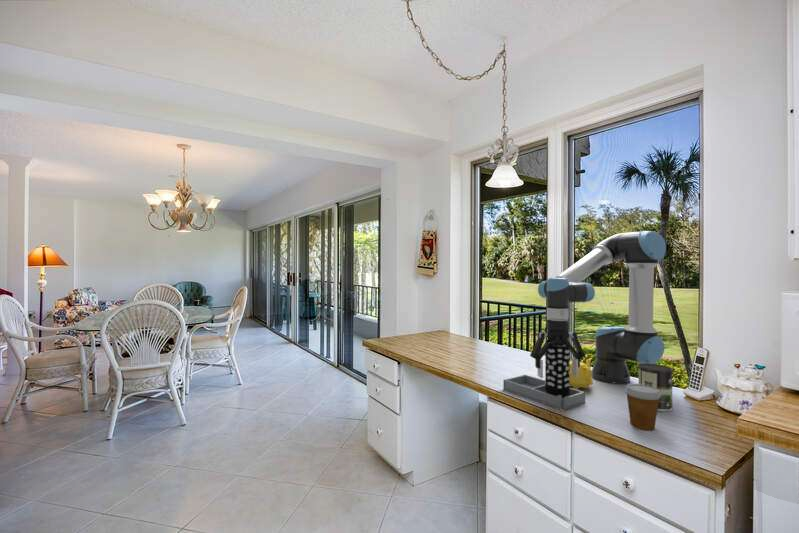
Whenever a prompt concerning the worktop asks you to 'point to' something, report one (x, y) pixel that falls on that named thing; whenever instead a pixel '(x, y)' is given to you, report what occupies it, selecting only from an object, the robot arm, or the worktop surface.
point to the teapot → (581, 375)
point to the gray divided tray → (542, 392)
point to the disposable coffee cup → (642, 405)
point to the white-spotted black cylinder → (557, 370)
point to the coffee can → (658, 382)
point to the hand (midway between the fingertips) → (557, 376)
